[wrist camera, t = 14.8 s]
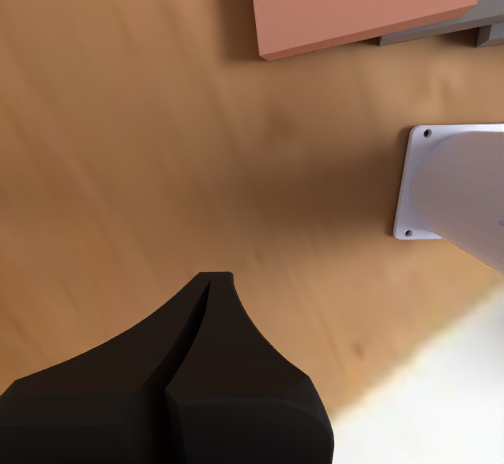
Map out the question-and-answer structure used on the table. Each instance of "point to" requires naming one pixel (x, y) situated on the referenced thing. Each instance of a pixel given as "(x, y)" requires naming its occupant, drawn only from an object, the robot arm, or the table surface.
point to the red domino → (342, 21)
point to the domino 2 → (491, 35)
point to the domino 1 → (453, 23)
